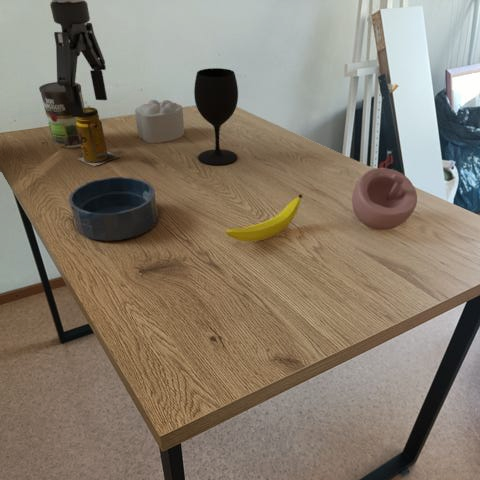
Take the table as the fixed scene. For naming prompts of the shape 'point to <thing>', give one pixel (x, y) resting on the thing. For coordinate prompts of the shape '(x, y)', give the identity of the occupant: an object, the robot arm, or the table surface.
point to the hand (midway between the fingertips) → (90, 107)
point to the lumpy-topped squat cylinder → (159, 121)
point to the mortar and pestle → (383, 199)
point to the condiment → (92, 138)
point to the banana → (267, 225)
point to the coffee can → (60, 114)
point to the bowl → (114, 208)
